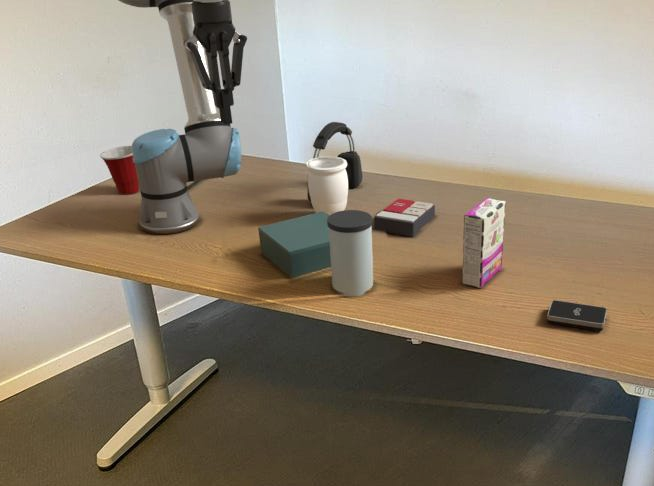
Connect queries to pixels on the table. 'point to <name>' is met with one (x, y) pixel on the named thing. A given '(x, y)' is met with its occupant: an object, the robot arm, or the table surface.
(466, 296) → the table surface
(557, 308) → the external hard drive
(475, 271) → the candy bar box
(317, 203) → the jar
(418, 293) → the table surface
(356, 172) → the headphones
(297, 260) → the chest
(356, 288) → the canister
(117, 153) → the plastic cup
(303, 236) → the chest lid
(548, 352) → the table surface
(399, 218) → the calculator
